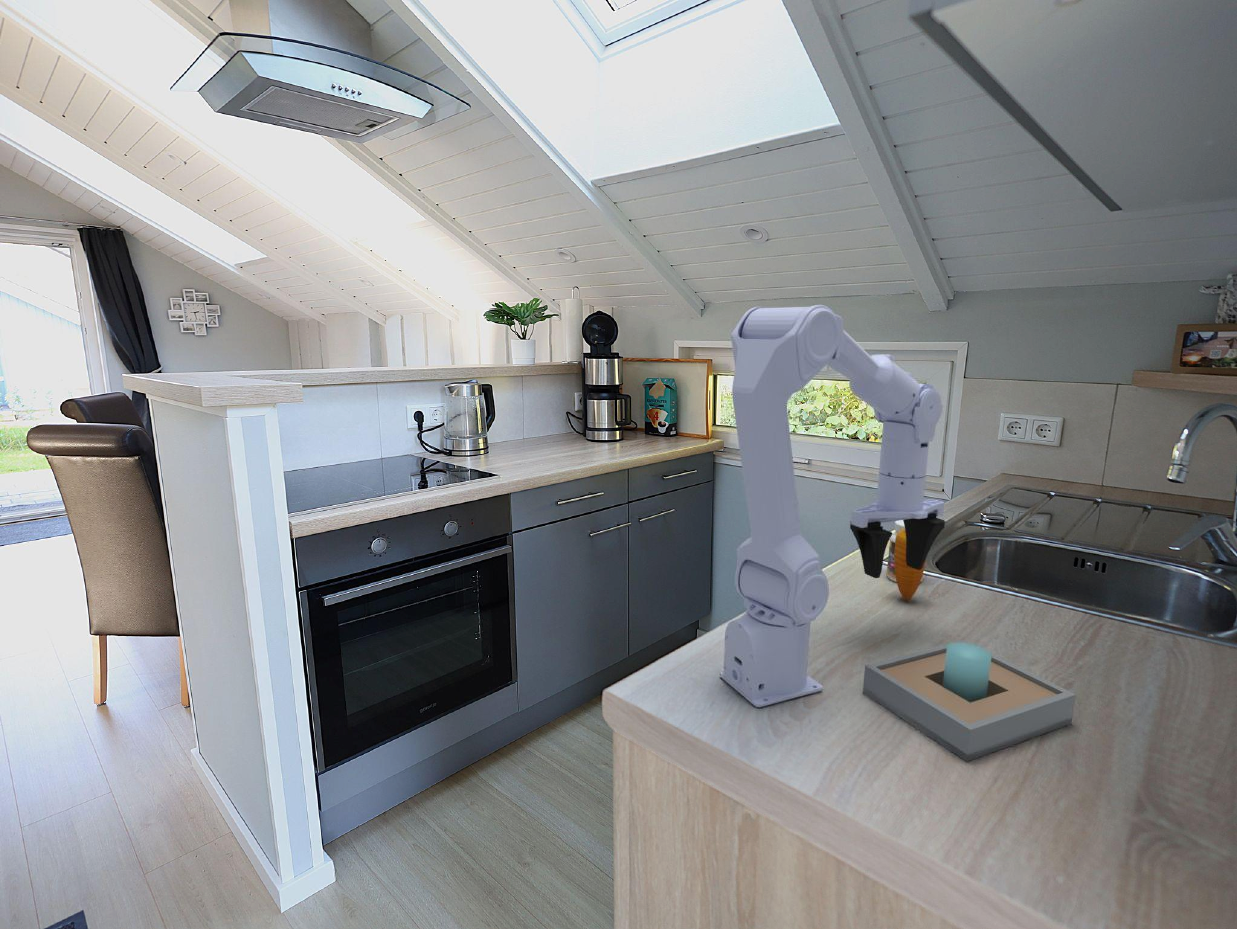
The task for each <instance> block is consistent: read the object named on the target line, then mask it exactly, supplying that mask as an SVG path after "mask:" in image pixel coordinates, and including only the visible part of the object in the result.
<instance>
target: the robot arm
mask: <svg viewBox="0 0 1237 929" xmlns="http://www.w3.org/2000/svg"><path fill="white" fill-rule="evenodd" d="M843 321H844V320H843V317H842V316H840V315H838V314H836V313H835V312H833V310H832V309H831V308H829V307H828V306H826V305H823V304H816V305H811V306H792V307H791V306H789V307H788V306H787V307H765V306H755V307H752V308H750V309H748V310H747V311H746V312H745V313H743V315H742V316H741V318H740V320H739V321H738V323H737V325H736V326H735V327H734V329H733V330H732V333H731V334H730V341H731V345H732V354H733V361H734V374H733V381H732V389H731V393H732V396H731V397H732V405H733V412H734V420H735V425H736V432H737V440H738V448H739V456H740V462H741V463H740V464H741V470H742V477H743V478H742V479H743V485H744V492H745V497H746V498H745V500H746V506H747V507H746V508H747V513H748V521H749V526H750V537H749V538H747V539H746V540H745V541H743V542H742V543H741V544H740V546H739V547H737V549H736V557H737V564H736V570H735V575H734V585H735V588H736V591H737V593H738V594H739V596H741V597H742V598H743V607H744V608H746V609H747V611H746V612H745V613H744V614H743V615H742V616H740V617H738V618H736V619H734V620H732V621H730V622H729V623H727V626H726V628H725V631H724V632H725V633H724V647H723V648H724V649H723V650H724V653H723V670H722V671H720V672H719V676H720V677H721V679H723V680H724V681H725V682H726V683H727V684H729V685H730V686H731V687H732V688H734V689H735V691H737V692H738V693H740V695H741V696H743V697H744V698H745V699H746V700H747V701H748V702H749V703H751V704H752V705H753V706H755V707H757V708H762V707H766V706H770V705H773V704H777V703H780V702H784V701H788V700H791V699H795V698H798V697H802V696H806V695H809V694H814V693H817V692H821V691H823V685H822V684H821V683H820V682H818V681H817V680H815V679H814V678H812V677H811V676H809V675H808V666H809V665H808V664H809V652H810V651H809V649H810V634H811V632H810V631H811V622H813V621H815V620H816V619H817V618H818V617H819V616H820V615H821V614H822V613H823V611H824V609H825V608H826V605H827V603H828V600H829V596H830V595H829V594H830V587H829V581H828V577H827V575H826V573H824V571H823V569H822V564H821V557H820V554H818V552H817V551H816V550H815V549H814V548H813V547H812V545H811V544H810V543H809V542H808V541H807V540H806V539H805V537H803V535H802V532H801V523H800V514H799V504H798V496H797V495H798V493H797V484H796V477H795V467H794V458H793V448H792V440H791V433H790V432H791V431H790V423H789V422H790V421H789V415H788V414H789V413H788V401H789V400H790V398H791V397H792V395H794V394H795V393H798V392H800V391H801V390H803V389H804V388H805V387H806V386H807V385H808V383H810V382H811V381H812V380H813V379H814V378H815V376H816V375H818V374H819V372H821V371H822V370H823V369H824V368H825V366H827V367H829V368H831V369H833V370H834V371H836V372H837V373H838V374H840V375H842V376H843V377H845V378H847V379H848V380H849V388H850V390H851V392H852V394H853V395H854V396H855V397H857V398H858V399H859V400H861V401H862V402H864V403H865V404H867V405H868V406H870V407H871V408H872V409H873V413H874V416H875V420H876V421H877V423H882V430H881V432H882V433H881V443H880V444H881V445H880V447H881V448H880V456H879V468H878V469H879V470H878V482H877V494H876V502H873V503H871V504H868V505H866V506H863V507H861V508H858V509H851V519H850V522H849V523H850V524H849V529H850V530H851V532H852V533H853V536H854V538H855V540H856V542H857V545H858V548H859V552H860V555H861V560H862V565H863V571H864V574H865V575H867V576H869V577H871V578H873V579H879V578H881V573H882V571H883V564H884V557H885V553H886V549H887V547H888V544H889V543H890V537H891V536H892V534H894V533H893V532H892V531H889V530H886V529H885V528H884V526H882V524H884V523H885V524H886V523H890V522H895V521H899V520H903V522H904V526H905V532H906V564H907V566H909V567H912V568H914V569H917V570H921V569H922V567H923V565H924V562H925V560H926V561H927V558H926V557H928V554H929V552H930V551H931V550H930V549H931V548H932V545H934V542H935V540H936V539H937V537H938V536H939V534H940V533H941V532H942V531H943V530H944V529H945V526H946V521H945V519H942V518H939V517H942V516H944V510H945V508H944V507H945V502H944V501H941V500H937V499H933V498H930V499H928V498H927V499H925V498H924V497H925V486H926V478H927V467H928V458H929V457H928V456H929V447H930V446H929V445H930V442H933V440H934V437H935V433H936V426H937V424H938V422H939V420H940V418H941V416H942V412H943V408H944V404H942V397H941V394H940V392H939V390H937V389H936V388H935V387H934V386H933V385H932V384H930V383H919V382H918V380H916V379H914V377H913V376H914V375H913V374H911V373H910V372H908V371H905V370H903V369H902V368H901V367H900V366H898V365H897V364H896V363H895V360H896V359H895V357H894V356H893V355H891V354H884V353H883V354H882V353H881V354H873V355H870V354H869V353H868V352H866V350H865V349H864V348H863V347H862V346H861V345H860V344H859V343H858V342H857V341H856V340H855V339H854V338H852V337H851V335H850V334H849V333H848V332H847V331H845V329H844V322H843ZM816 377H817V376H816Z"/></svg>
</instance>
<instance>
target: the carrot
mask: <svg viewBox="0 0 1237 929" xmlns="http://www.w3.org/2000/svg"><path fill="white" fill-rule="evenodd" d="M927 557H928V556H927ZM927 557H926V560H925V562H924V565H923V567H922V569H921V570H917V569H914V568H912V567H909V566H907V564H906V532H905V529H903V530H900V531H899V532H898V533H897V536H896V539H895V557H894V565H895V575H896V582H895V583H896V584H897V587H898V591H899V592H900V595H901V597H902V599H903V600H904V602H908V601H910V600H911V599H912V598H913V596H914V595H915V593H916V592H917V590H918V588H919V586H920V585H921V582H922V581H921V578H922V575H923V576H924V571H925V568H926V564H927ZM920 581H921V582H920Z"/></svg>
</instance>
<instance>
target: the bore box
mask: <svg viewBox="0 0 1237 929" xmlns="http://www.w3.org/2000/svg"><path fill="white" fill-rule="evenodd" d="M951 643H969V644H971V643H970V642H968V641H966V640H964V639H961V640H956V641H953V642H949V643H945V644H940V645H937V646H933V647H930V648H926V649H922V650H918V651H914V652H911V653H907V654H902V655H899V656H894V657H890V658H887V659H883V660H879V661H876V662H872V663H868V664H865V665H864V673H863V674H864V675H863V684H862V685H863V686H862V693H863V694H864V695H866V696H867V697H869V698H870V699H871V700H873V701H875V702H876V703H878V704H879V705H881V706H882V707H883V708H884V709H887V710H888V711H890V712H891V713H893V714H894V715H896V716H897V717H899V718H901V719H902V720H903V721H904V722H906V723H908V724H909V725H911V726H912V727H913V728H915V729H916V730H918V731H920V732H921V733H922V734H925V735H926V736H927V737H929V738H930V739H932V740H933V741H935V742H936V743H938V744H939V745H941V746H943V747H944V748H945V749H946V750H948V751H950V752H952V753H953V754H954V755H955V756H957V757H959V758H960V759H962V760H963V761H965V762H968V763H969V762H970V761H973V760H976V759H979V758H982V757H984V756H987V755H990V754H992V753H996V752H998V751H1000V750H1001V751H1002V750H1003V749H1007V748H1009V747H1012V746H1015V745H1017V744H1020V743H1024V742H1026V741H1028V740H1031V739H1034V738H1037V737H1040V736H1043V735H1044V734H1048V733H1051V732H1053V731H1056V730H1059V729H1061V728H1064V727H1067V726H1070V725H1072V724H1073V722H1072V721H1073V717H1074V710H1075V705H1076V704H1075V703H1076V698H1077V697H1076V696H1077V694H1076V693H1074V692H1071V691H1070V690H1068V689H1065V688H1063V687H1061V686H1059V685H1057V684H1055V683H1053V682H1052V681H1050V680H1047V679H1045V678H1043V677H1041V676H1039V675H1037V674H1036V673H1035V674H1034V673H1033V672H1030V671H1028V670H1027V669H1024V668H1022V667H1020V666H1018V665H1016V664H1013V663H1012V662H1010V661H1008V660H1006V659H1004V658H1001V657H999V656H997V655H995V654H993V653H992V652H989V653H990V654H991V664H990V672H989V680H988V688H987V697H986V698H984V699H980V700H977V701H974V702H971V703H970V702H968V701H966V700H965V699H963V698H961V697H959V696H958V695H956V694H954V693H953V692H951V691H949V690H947V689H946V688H944V687H943V678H944V669H945V660H946V651H947V646H948V645H949V644H951Z"/></svg>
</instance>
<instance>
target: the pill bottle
mask: <svg viewBox="0 0 1237 929" xmlns="http://www.w3.org/2000/svg"><path fill="white" fill-rule="evenodd" d="M893 528H894V531H895V532H894V533H893V534H892V536H891V537H890V539H889V546H888V558H887V566H886V567H887V568H886V577H887V578H888V579H889V580H891V581H892V582H894V583H897V582H896V575H895V565H894V557H895V539H896V536H897V533H898V532H899V531H900V530H903V529H905V526H904V522H903V520H899V521H894V526H893ZM923 577H924V574H923V575H922V578H921V581H920V583H921V582H922V581H923Z"/></svg>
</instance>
